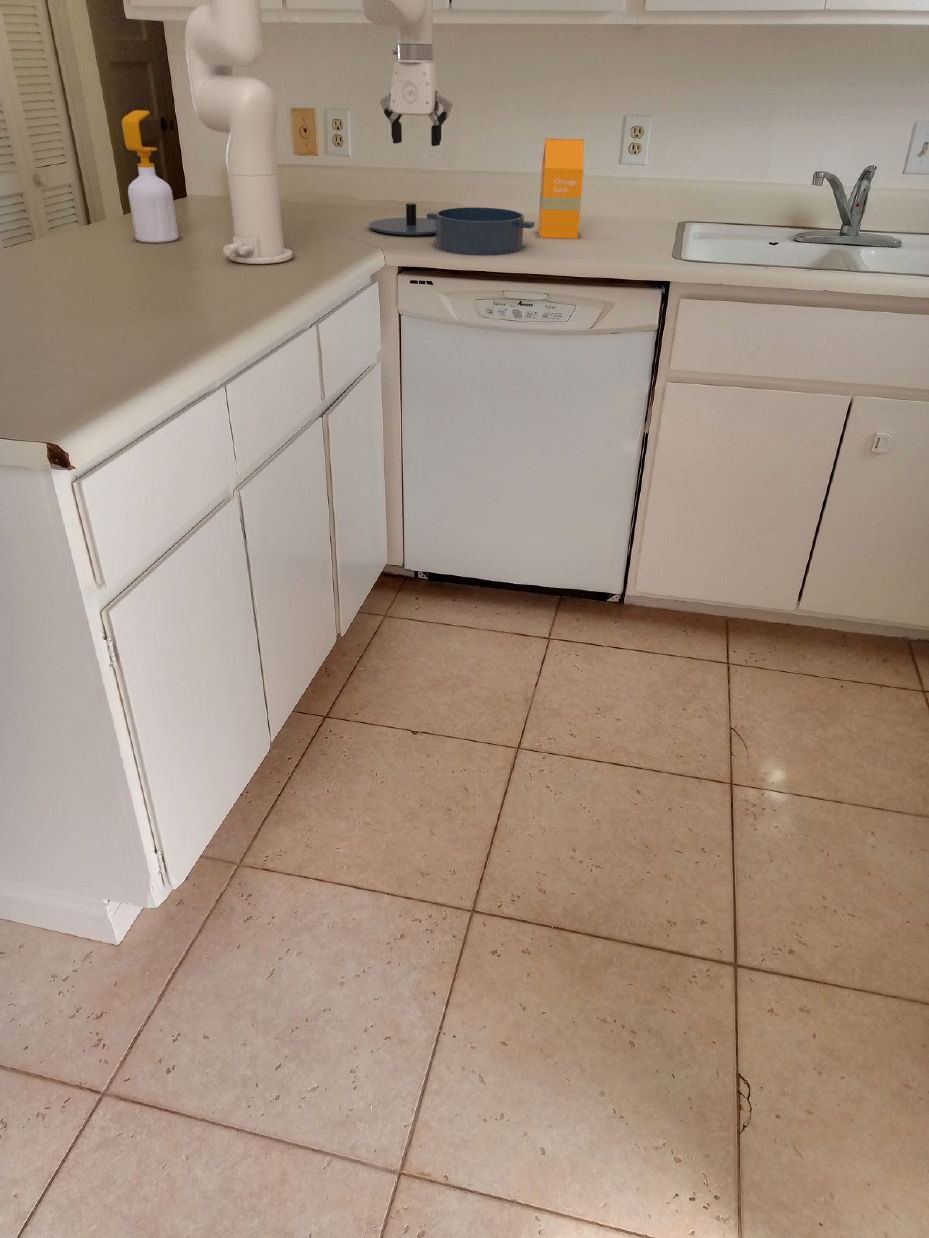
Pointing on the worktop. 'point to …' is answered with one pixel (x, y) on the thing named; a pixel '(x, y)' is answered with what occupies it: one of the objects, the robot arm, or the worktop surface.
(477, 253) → the pot
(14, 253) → the worktop surface
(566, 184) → the orange juice
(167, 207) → the soap bottle
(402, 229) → the lid
